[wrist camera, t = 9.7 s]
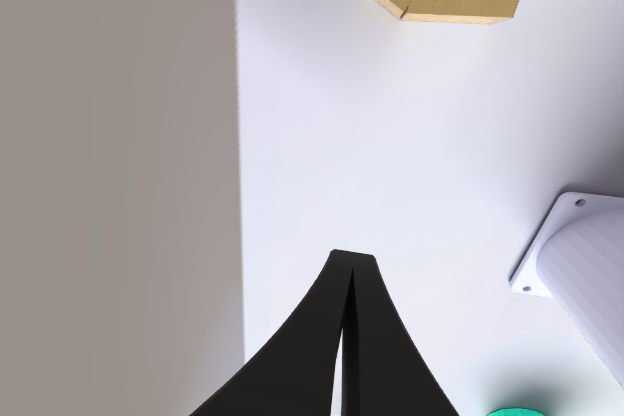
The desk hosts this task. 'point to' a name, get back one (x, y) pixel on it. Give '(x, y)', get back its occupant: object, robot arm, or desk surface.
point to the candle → (515, 412)
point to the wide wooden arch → (452, 10)
